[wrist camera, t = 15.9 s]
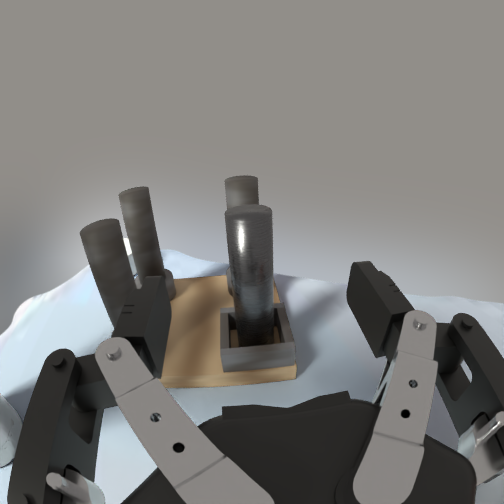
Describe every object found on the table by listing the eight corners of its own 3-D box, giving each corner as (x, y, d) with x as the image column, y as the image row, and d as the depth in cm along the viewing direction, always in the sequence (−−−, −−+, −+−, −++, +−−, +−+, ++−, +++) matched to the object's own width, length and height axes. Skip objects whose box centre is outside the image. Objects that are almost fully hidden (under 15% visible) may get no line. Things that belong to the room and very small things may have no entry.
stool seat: (112, 385, 25) (46, 251, 17) (142, 292, 40) (116, 187, 32) (295, 378, 26) (305, 226, 18) (271, 283, 41) (269, 170, 33)
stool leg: (239, 359, 26) (224, 222, 20) (237, 335, 29) (224, 206, 23) (276, 356, 26) (275, 218, 20) (271, 331, 30) (268, 202, 23)
